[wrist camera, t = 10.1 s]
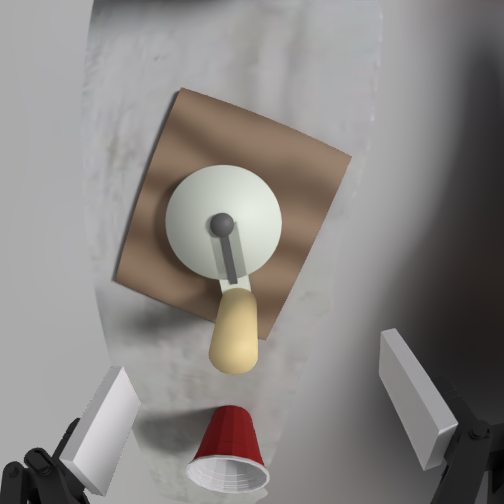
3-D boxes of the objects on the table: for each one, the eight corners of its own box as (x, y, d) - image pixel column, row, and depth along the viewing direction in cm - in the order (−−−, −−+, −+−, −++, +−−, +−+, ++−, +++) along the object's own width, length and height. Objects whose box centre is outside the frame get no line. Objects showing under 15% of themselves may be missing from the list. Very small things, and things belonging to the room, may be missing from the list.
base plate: (183, 89, 31) (180, 87, 30) (349, 156, 33) (352, 156, 32) (118, 278, 37) (114, 281, 36) (265, 336, 39) (265, 341, 38)
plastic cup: (194, 434, 45) (183, 491, 33) (199, 388, 42) (185, 450, 30) (260, 443, 45) (261, 500, 33) (274, 398, 42) (278, 462, 31)
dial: (160, 177, 33) (114, 185, 21) (270, 156, 32) (279, 151, 21) (193, 318, 37) (171, 380, 26) (293, 304, 37) (308, 364, 25)
